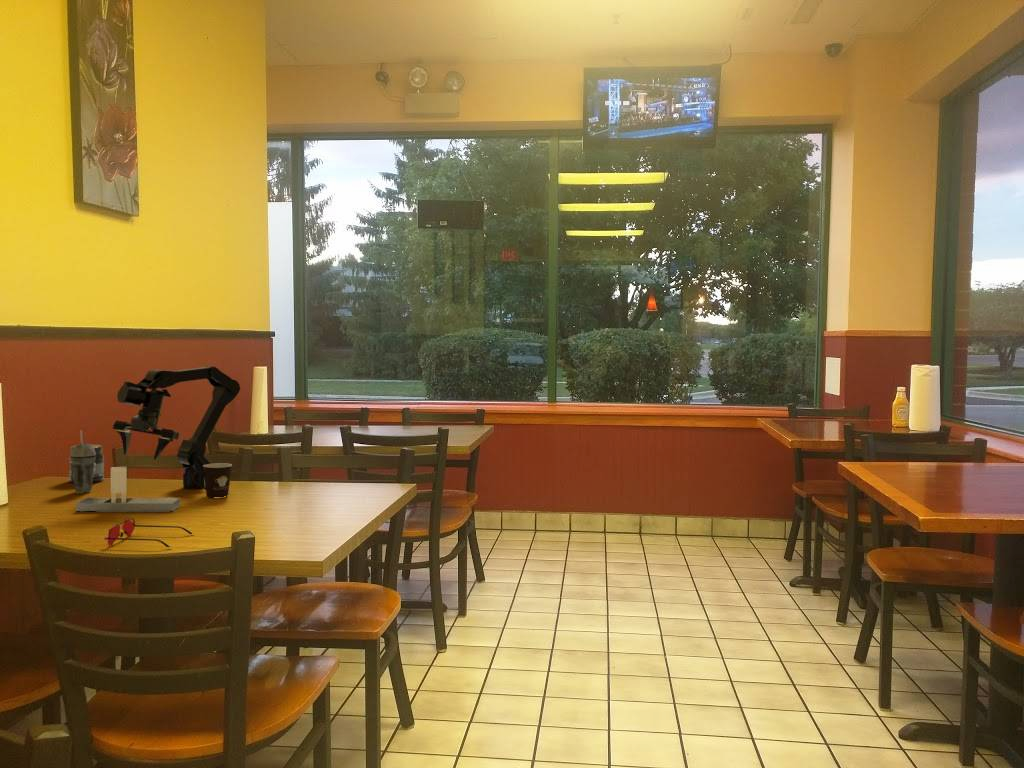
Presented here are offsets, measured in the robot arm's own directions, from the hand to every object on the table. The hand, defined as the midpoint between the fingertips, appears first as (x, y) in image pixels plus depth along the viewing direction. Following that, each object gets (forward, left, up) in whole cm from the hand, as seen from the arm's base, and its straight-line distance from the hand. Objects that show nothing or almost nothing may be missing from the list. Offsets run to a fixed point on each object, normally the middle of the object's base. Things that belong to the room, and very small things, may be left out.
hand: (140, 457), depth 251 cm
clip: (0, +20, -12) cm, 24 cm away
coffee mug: (-23, +3, -12) cm, 26 cm away
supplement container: (+24, -23, -12) cm, 36 cm away
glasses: (-20, +57, -13) cm, 62 cm away
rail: (-4, +21, -12) cm, 24 cm away
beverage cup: (+18, -4, -12) cm, 23 cm away
